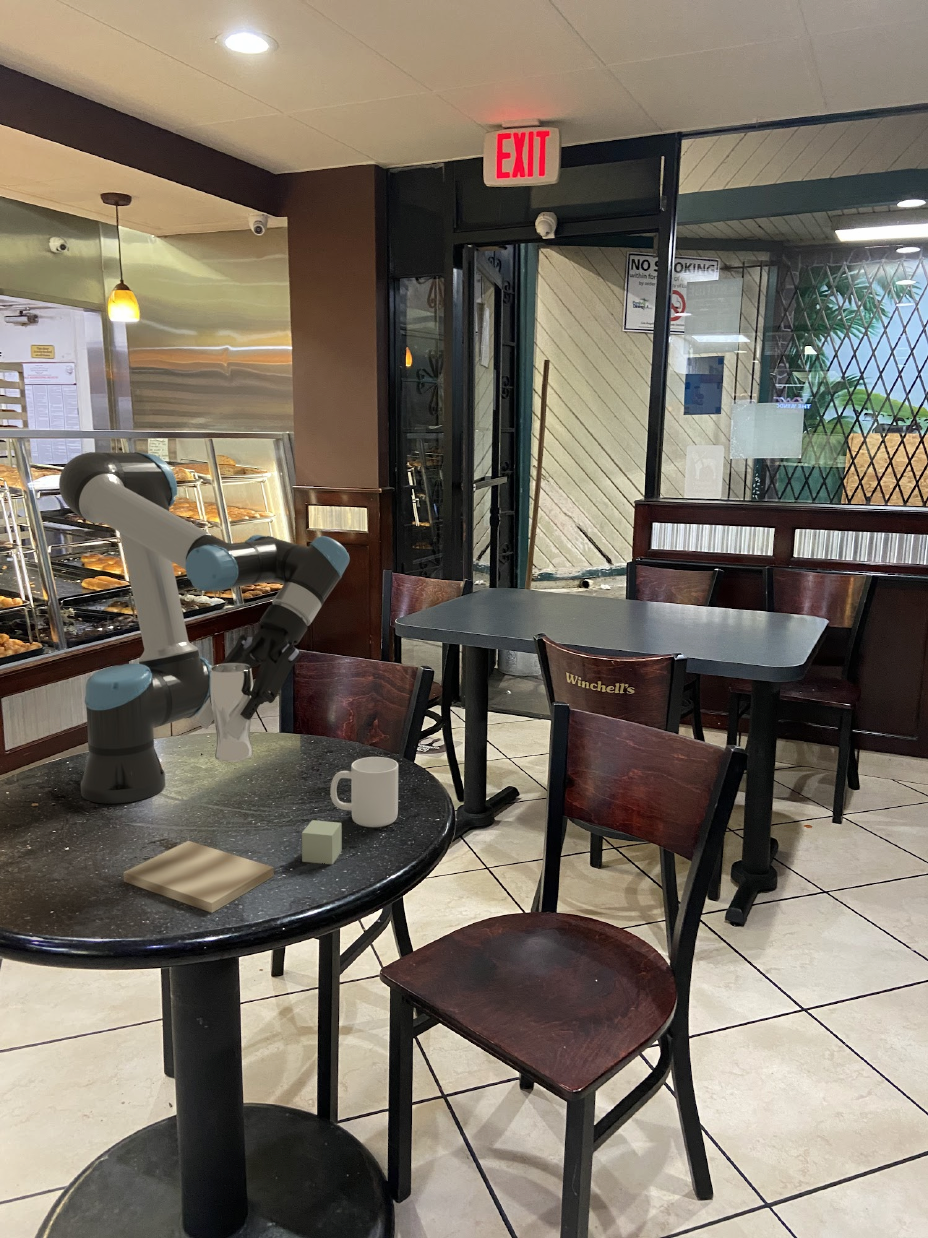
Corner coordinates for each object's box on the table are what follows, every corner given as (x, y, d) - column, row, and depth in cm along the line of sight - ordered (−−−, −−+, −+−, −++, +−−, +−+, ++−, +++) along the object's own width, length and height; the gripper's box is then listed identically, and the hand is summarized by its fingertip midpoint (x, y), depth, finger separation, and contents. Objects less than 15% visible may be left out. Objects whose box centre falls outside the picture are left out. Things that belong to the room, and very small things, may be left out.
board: (124, 881, 134) (123, 872, 134) (188, 849, 145) (188, 841, 145) (212, 913, 125) (211, 903, 125) (273, 876, 137) (273, 867, 136)
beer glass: (217, 766, 141) (213, 674, 139) (207, 752, 147) (203, 665, 145) (260, 759, 145) (257, 670, 142) (249, 746, 151) (246, 660, 148)
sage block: (302, 862, 142) (301, 832, 141) (312, 848, 147) (312, 820, 146) (332, 865, 141) (332, 835, 140) (341, 851, 146) (341, 822, 145)
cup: (397, 827, 155) (397, 772, 154) (328, 828, 155) (328, 772, 153) (398, 809, 164) (398, 756, 162) (332, 809, 163) (332, 756, 161)
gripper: (341, 636, 148) (268, 754, 139) (264, 621, 160) (192, 728, 151) (317, 609, 143) (239, 729, 134) (239, 595, 155) (163, 705, 146)
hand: (214, 729), depth 142 cm, fingers closed on beer glass, 7 cm apart
